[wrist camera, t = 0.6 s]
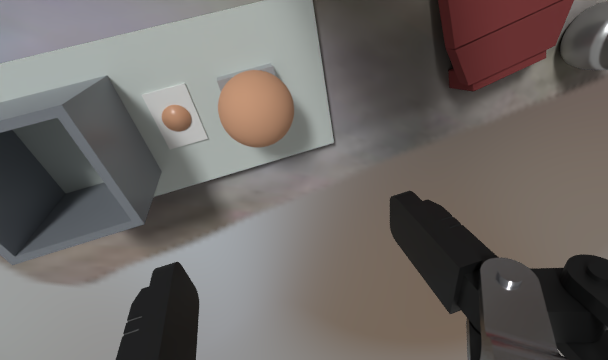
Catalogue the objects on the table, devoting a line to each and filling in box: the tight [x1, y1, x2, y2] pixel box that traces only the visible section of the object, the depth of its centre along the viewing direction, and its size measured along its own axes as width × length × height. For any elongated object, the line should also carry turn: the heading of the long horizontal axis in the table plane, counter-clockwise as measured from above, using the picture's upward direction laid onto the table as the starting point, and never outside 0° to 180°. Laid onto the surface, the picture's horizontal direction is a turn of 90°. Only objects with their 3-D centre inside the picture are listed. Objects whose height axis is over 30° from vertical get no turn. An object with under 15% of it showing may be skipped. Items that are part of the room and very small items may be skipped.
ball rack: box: [0, 0, 334, 265], centre depth 22 cm, size 29×14×9 cm, turn 101°
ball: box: [218, 70, 294, 147], centre depth 23 cm, size 6×6×6 cm
